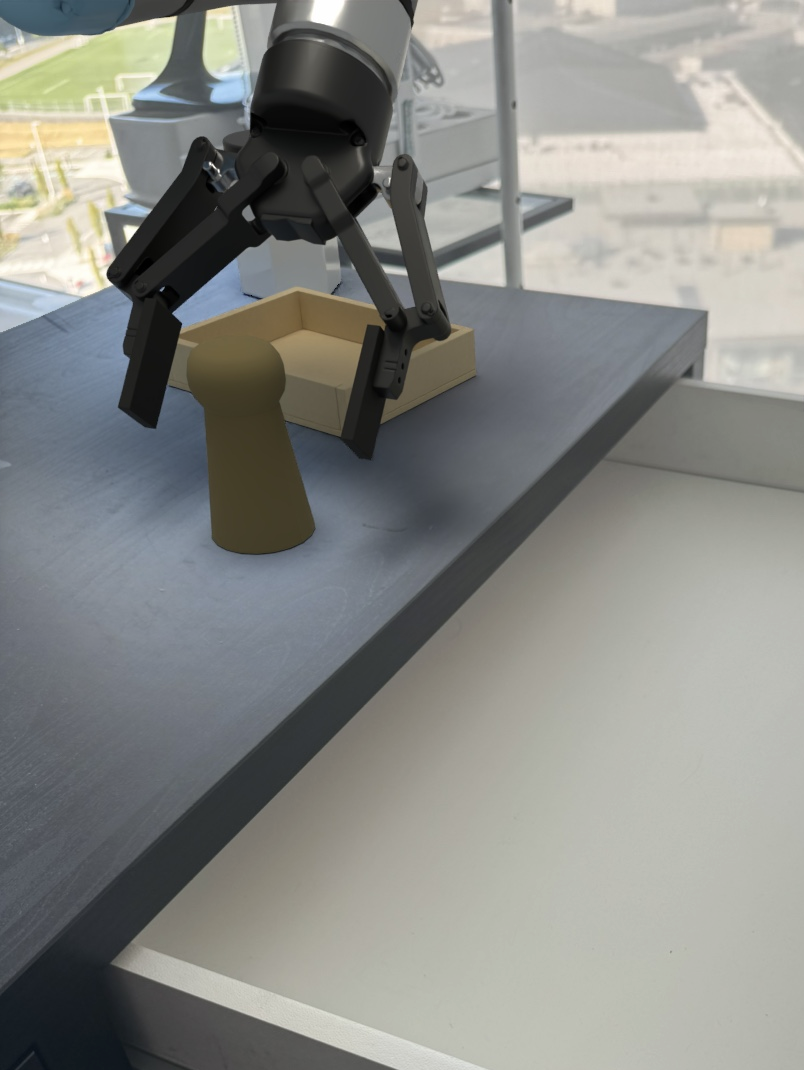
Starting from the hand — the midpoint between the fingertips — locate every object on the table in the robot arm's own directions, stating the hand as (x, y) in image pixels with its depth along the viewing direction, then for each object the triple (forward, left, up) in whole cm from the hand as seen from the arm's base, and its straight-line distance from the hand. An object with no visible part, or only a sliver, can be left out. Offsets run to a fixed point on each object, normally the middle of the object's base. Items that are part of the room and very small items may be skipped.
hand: (244, 434), depth 65 cm
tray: (-13, +20, -6) cm, 25 cm away
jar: (-30, +35, -6) cm, 47 cm away
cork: (0, 0, -6) cm, 6 cm away
